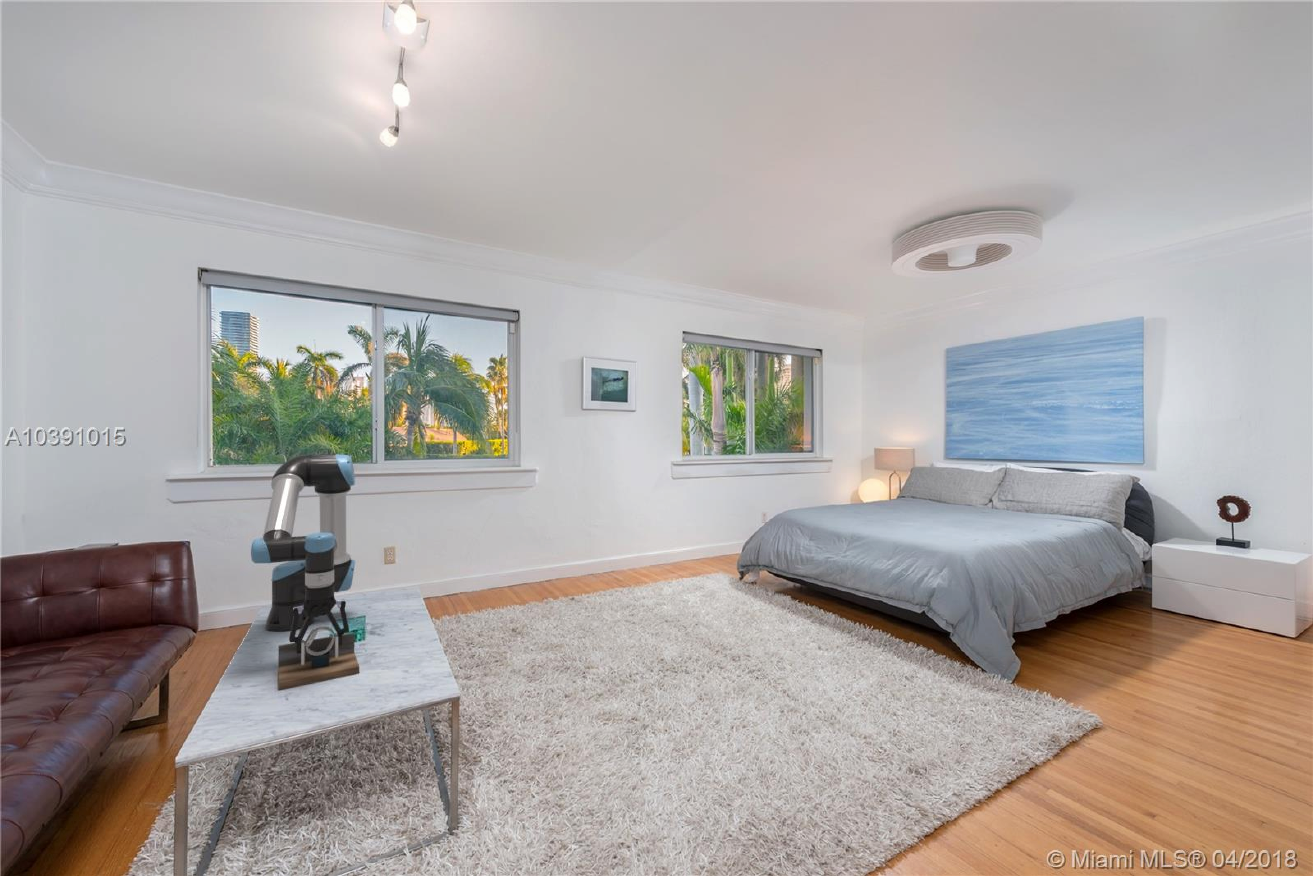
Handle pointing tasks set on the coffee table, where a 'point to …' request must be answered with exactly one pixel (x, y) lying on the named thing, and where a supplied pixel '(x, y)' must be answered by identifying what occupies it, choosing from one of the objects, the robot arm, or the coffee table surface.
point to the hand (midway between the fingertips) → (319, 659)
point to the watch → (319, 656)
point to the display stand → (299, 674)
